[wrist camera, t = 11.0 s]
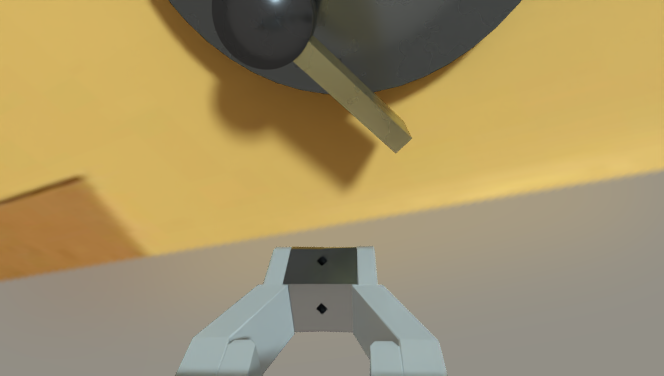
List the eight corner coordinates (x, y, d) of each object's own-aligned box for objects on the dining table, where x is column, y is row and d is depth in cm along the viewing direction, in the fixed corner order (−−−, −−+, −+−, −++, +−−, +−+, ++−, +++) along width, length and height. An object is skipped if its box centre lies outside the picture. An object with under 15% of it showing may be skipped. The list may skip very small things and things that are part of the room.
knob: (216, 17, 19) (192, 21, 16) (265, -59, 17) (249, -71, 14) (370, 151, 23) (374, 175, 20) (424, 99, 21) (437, 116, 18)
